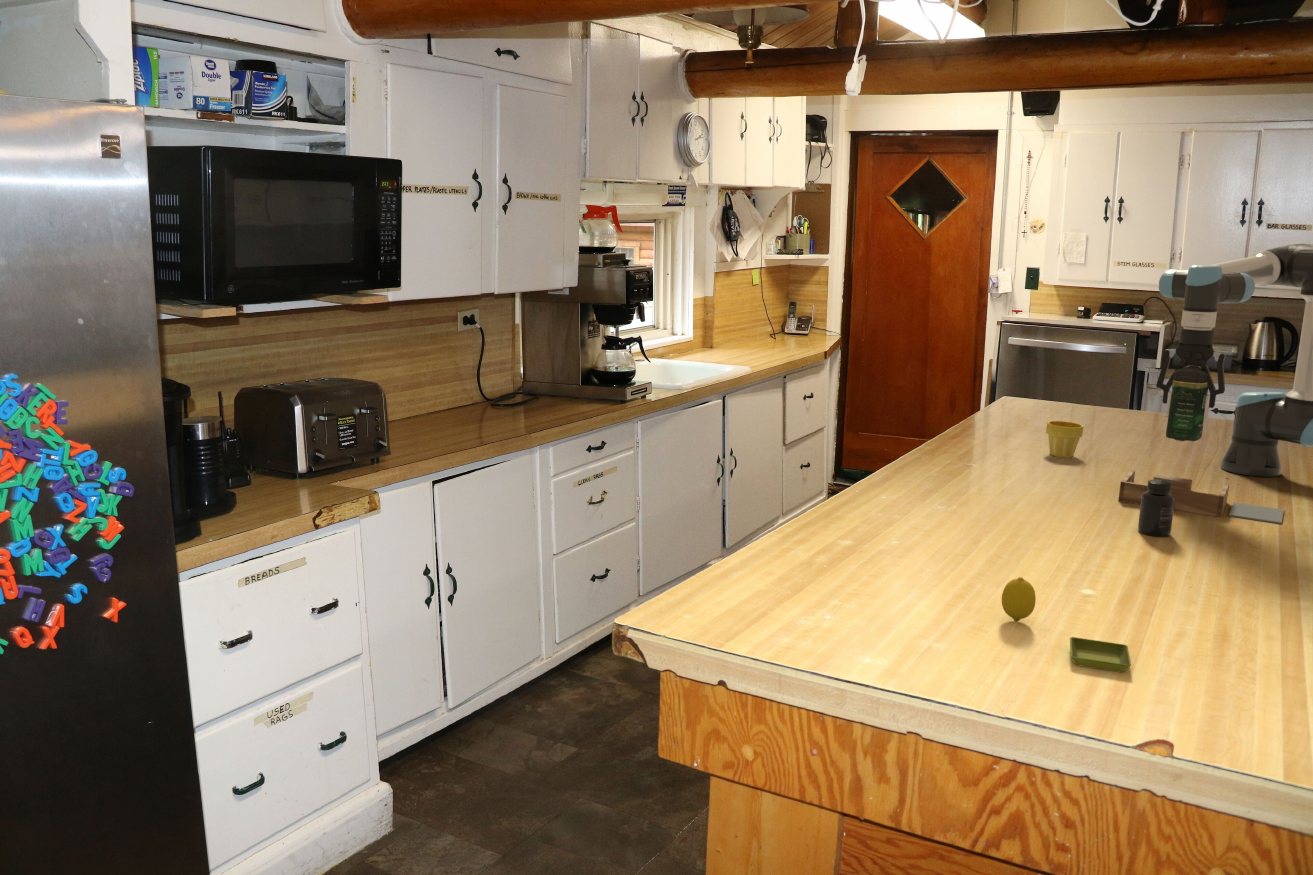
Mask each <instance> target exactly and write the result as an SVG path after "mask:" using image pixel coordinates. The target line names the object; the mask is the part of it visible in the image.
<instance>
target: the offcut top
mask: <svg viewBox="0 0 1313 875" xmlns="http://www.w3.org/2000/svg"><path fill="white" fill-rule="evenodd" d="M1152 480H1165V481H1169V482H1171V488H1173V489H1179V490H1186V491H1190V490H1192V484H1193V479H1190V478H1189V479H1188V478H1185V477H1184V478H1183V477H1179V476H1177V477H1176V476H1171V475H1166V474H1159V473H1157V474H1156V475H1154V476H1153V479H1152Z"/></svg>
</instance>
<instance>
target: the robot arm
mask: <svg viewBox="0 0 1313 875" xmlns="http://www.w3.org/2000/svg"><path fill="white" fill-rule="evenodd" d="M1256 285H1257V286H1261V287H1267V286H1281V287H1282V286H1283V287H1284V286H1285V287H1292V288H1294V287H1295V288H1300V297H1301V298H1302V299H1304V301H1305V305H1304V313H1303V320H1302V326H1301V333H1300V340H1299V345H1298V354H1297V359H1296V366H1295V372H1294V373H1295V375H1294V380H1293V386H1292V389H1291V390H1290V391H1288V392H1286V393H1284V392H1281V391H1251V392H1249V391H1248V392H1242V393H1240V394H1239V395H1238V397H1237V401H1236V405H1235V407H1234V409H1235V411H1234V417H1233V426H1232V432H1231V440H1230V443H1229V445H1228V447H1227V448H1226V450H1225V453H1224V454H1223V456H1222V458H1221V461H1220V469H1222V470H1224V471H1227V472H1230V473H1234V474H1239V475H1244V476H1251V477H1252V476H1253V477H1262V478H1263V477H1267V478H1270V477H1273V478H1274V477H1278V476H1280V475H1281V473H1282V464H1281V458H1280V454H1279V450H1278V447H1279V446H1278V444H1279V441H1281V442H1286V443H1290V444H1295V445H1300V446H1303V447H1310V448H1313V243H1309V244H1308V243H1295V244H1294V243H1293V244H1287V245H1282V246H1277V247H1273V248H1269V249H1264V250H1260V251H1256V252H1255V253H1253V254H1252V255H1251V256H1248V257H1243V258H1239V259H1233V260H1229V261H1223V262H1218V263H1213V264H1208V265H1207V264H1206V265H1205V264H1202V265H1200V264H1194V265H1191V266H1190V267H1189V268H1188V269H1179V268H1176V269H1168V270H1167V269H1166V271H1163V273H1162V274H1161V276H1160V277H1159V280H1158V291H1159V293H1160V294H1161V296H1163V297H1164V298H1169V299H1173V300H1177V299H1178V300H1184V301H1183V303H1184V304H1183V308H1182V314H1181V315H1182V316H1181V322H1180V325H1181V327H1182V328H1180V331H1179V337H1178V338H1179V339H1178V345H1177V347H1176V348H1170V349H1169V348H1167V349H1165V350H1163V357H1164V358H1163V362H1162V366H1161V369H1160V372H1159V375H1158V378H1157V381H1156V384H1155V385H1156V388H1157V389H1160V390H1162V391H1163V392H1162V404H1166V410H1165V418H1168V416H1169V408H1170V401H1171V393H1172V384H1173V377H1174V372H1175V371H1176V370H1179V369H1181V368H1184V367H1186V366H1200V367H1201V369H1202V371H1204V372H1206V373H1208V382H1207V383H1208V384H1207V386H1208V392H1209V393H1208V394H1207V396H1206V404H1205V412H1204V419H1203V421H1204V422H1208V419H1209V413H1210V408H1211V409H1214V407H1215V404H1216V398H1217V396H1218V395H1222V394H1224V392H1225V391H1226V386H1225V385H1226V384H1225V370H1224V369H1225V368H1224V365H1225V364H1224V362H1225V359H1226V356H1227V354H1226V353H1225V352H1217V351H1215V350H1214V348H1213V345H1214V338H1215V331H1214V328H1216V321H1217V316H1218V315H1217V314H1218V305H1219V304H1235V305H1236V304H1239V303H1240V304H1241V303H1243V302H1244V303H1245V302H1247V301H1249V300H1250V299H1251V297H1252V296H1253V295H1254V293H1255V289H1256ZM1175 354H1176V355H1177V357H1178V359H1179V360H1180V362H1179V363H1178V365H1177V366H1176V368H1175V369H1174V371H1173V373H1172V374H1171V376H1170V378H1169V379H1168V381H1167V382H1166V383H1164V382H1165V378H1166V375H1167V372H1168V369H1169V366H1170V362H1171V359H1172V358H1173V357H1174V356H1175ZM1211 357H1213V358H1214V361H1215V362H1216V369H1217V370H1216V371H1217V373H1216V374H1217V385H1218V386H1217V387H1218V388H1216V386H1215V383H1214V380H1213V377H1212V375H1211V372H1210V369H1209V365H1208V361H1209V360H1210V359H1211Z"/></svg>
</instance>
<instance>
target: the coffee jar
mask: <svg viewBox="0 0 1313 875" xmlns="http://www.w3.org/2000/svg"><path fill="white" fill-rule="evenodd" d="M1174 371H1175V370H1174ZM1174 371H1173V373H1174V377H1173V384H1172V386H1171V391H1172V393H1171V401H1170V408H1169V416H1168V417H1167V424H1166V429H1165V430H1166V431H1165V436H1166V438H1168V439H1172V440H1174V441H1178V442H1185V441H1188V442H1196V441H1199V440H1201V438H1202V437H1203V430H1204V422H1205V421H1203V419H1204V412H1205V404H1206V396H1207V394H1209V393H1208V392H1209V389H1208V386H1207V384H1208V383H1207V382H1208V373H1206V372H1204V371H1202V369H1201V367H1200V366H1194V365H1190V366H1188V365H1186V366H1184V367H1183V368H1181V369H1179V370H1176V371H1175V372H1174Z"/></svg>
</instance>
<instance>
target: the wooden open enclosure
mask: <svg viewBox="0 0 1313 875" xmlns="http://www.w3.org/2000/svg"><path fill="white" fill-rule="evenodd" d="M1135 475H1136V470H1133V469H1130V470H1129V472H1128V473H1127V474H1126V475H1125V476H1124V477H1123V479H1122V480H1121V481H1120V483H1119V484H1120V485H1119V494H1118V502H1123V503H1130V504H1136V505H1141V496H1142V494H1143V493H1144V492H1146V491H1148V489H1147V486H1148V485H1146V484H1145V483H1136V482H1135ZM1229 489H1230V483H1228V482H1225V483H1224V484H1223V486H1222V489H1221V491H1220V493H1219V494H1212V493H1206V492H1200V491H1196V492H1193V491H1186V490H1179V489H1173V488H1171V491H1170V494H1172V495H1173V496H1174V499H1175V502H1174V510H1175V511H1181V512H1187V513H1195V514H1200V515H1207V516H1212V517H1218V518H1221V517H1222V515H1223V513H1224V510H1225V507H1226V505H1227V502H1228V497H1229Z"/></svg>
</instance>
